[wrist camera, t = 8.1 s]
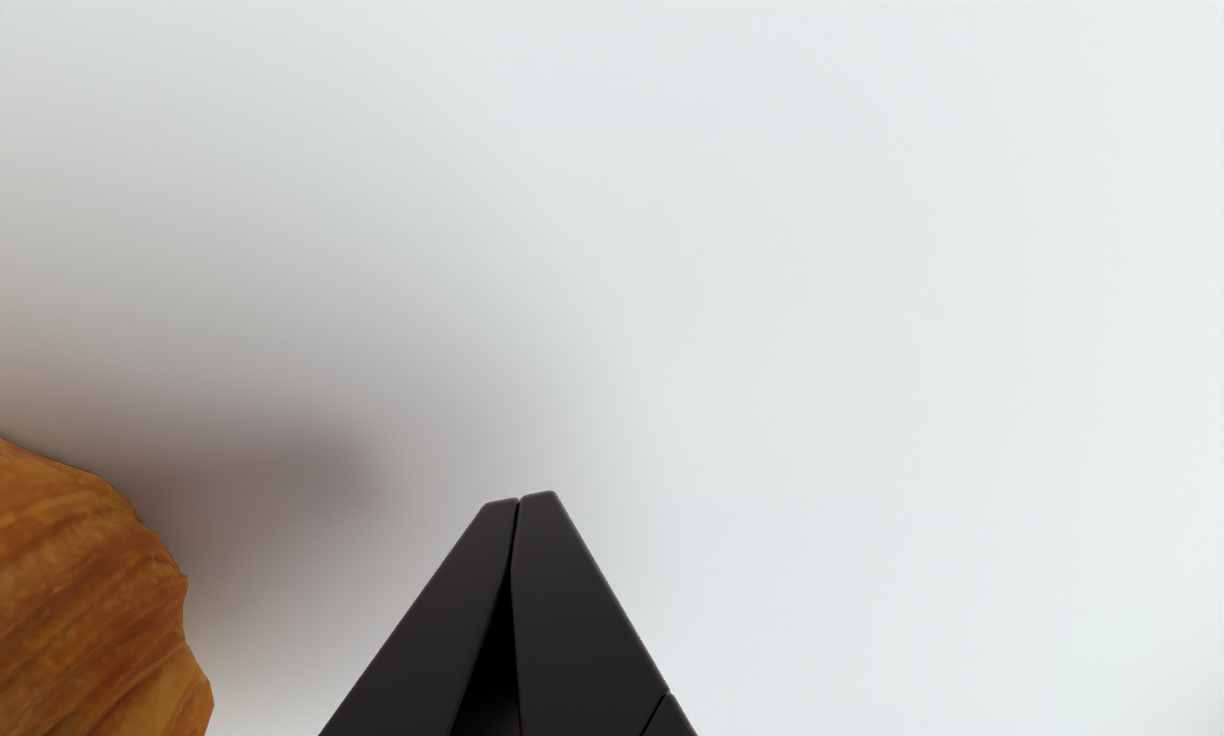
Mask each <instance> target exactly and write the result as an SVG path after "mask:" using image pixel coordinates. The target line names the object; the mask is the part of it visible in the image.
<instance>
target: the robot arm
mask: <svg viewBox="0 0 1224 736" xmlns="http://www.w3.org/2000/svg"><path fill="white" fill-rule="evenodd" d="M318 736H698V735H697V734H696V732H695V730H694V729H693V727H692V726H691V724H690V722H689V721H688V719H687V717H686V715H685V714H684V712H683V710H682V709H681V707H680V705H679V703H678V702H677V700H676V698H675V697H674V695H672V694H671V693H670V689H669V687H668V685H667V683H666V682H665V680H664V678H663V677H662V675H661V673H660V671H659V670H658V668H657V666H656V665H655V663H654V661H653V659H652V658H651V656H650V654H649V653H648V651H647V649H646V647H645V646H644V644H643V642H642V641H641V639H640V637H639V635H638V634H637V632H636V630H635V629H634V627H633V625H632V623H631V622H630V620H629V618H628V616H627V615H626V613H625V611H624V610H623V608H622V606H621V604H620V603H619V601H618V599H617V598H616V596H615V594H614V592H613V591H612V589H611V587H610V586H609V584H608V582H607V580H606V579H605V577H604V575H603V574H602V572H601V570H600V568H599V567H598V565H597V563H596V562H595V560H594V558H593V556H592V555H591V553H590V551H589V549H588V548H587V546H586V544H585V543H584V541H583V539H582V537H581V536H580V534H579V532H578V531H577V529H576V527H575V525H574V524H573V522H572V520H571V519H570V517H569V515H568V513H567V512H566V510H565V508H564V507H563V505H562V503H561V501H560V500H559V498H558V496H557V495H556V493H555V492H554V491H551V490H548V491H543V492H538V493H533V494H528V495H525V496H523V497H522V498H521V499H520V500H519V499H517V498H508V499H503V500H498V501H493V502H489V503H486V504H485V505H484V506H483V507H482V508H481V509H480V511H479V512H478V514H477V515H476V516H475V518H474V519H473V521H472V522H471V523H470V525H469V526H468V527H467V529H466V530H465V532H464V533H463V534H462V536H461V537H460V539H459V540H458V541H457V543H456V544H455V546H454V547H453V548H452V550H451V551H450V553H449V554H448V555H447V557H446V558H445V560H444V561H443V562H442V564H441V565H440V567H439V568H438V569H437V571H436V572H435V573H434V575H433V576H432V578H431V579H430V580H429V582H428V583H427V585H426V586H425V587H424V589H423V590H422V592H421V593H420V594H419V596H418V597H417V599H416V600H415V601H414V603H413V604H412V606H411V607H410V608H409V610H408V611H407V613H406V614H405V615H404V617H403V618H402V620H401V621H400V622H399V624H398V625H397V626H396V628H395V629H394V631H393V632H392V633H391V635H390V636H389V638H388V639H387V640H386V642H385V643H384V645H383V646H382V647H381V649H380V650H379V652H378V653H377V654H376V656H375V657H374V659H373V660H372V661H371V663H370V664H369V666H368V667H367V668H366V670H365V671H364V673H363V674H362V675H361V677H360V678H359V679H358V681H357V682H356V684H355V685H354V686H353V688H352V689H351V691H350V692H349V693H348V695H347V696H346V698H345V699H344V700H343V702H342V703H341V705H340V706H339V707H338V709H337V710H336V712H335V713H334V714H333V716H332V717H331V719H330V720H329V721H328V723H327V724H326V725H325V727H324V728H323V730H322V731H321V732H320V734H319V735H318Z"/></svg>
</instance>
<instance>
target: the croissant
mask: <svg viewBox="0 0 1224 736" xmlns="http://www.w3.org/2000/svg"><path fill="white" fill-rule="evenodd" d="M187 585H188V576H187V575H183V574H180V570H179V568H178V567H177V565H176V563H175V562H174V560H173V558H172V557H171V555H170V554H169V552H168V550H167V549H166V547H165V545H164V544H163V542H162V541H161V539H160V537H159V536H158V534H157V533H156V532H154V531H153V530H151V529H149V528H148V527H146V526H144V525H142V524H141V523H139V521H138V518H137V516H136V513H135V511H134V508H133V506H132V504H131V503H130V502H129V501H127V500H126V499H125V498H124V497H123V496H122V495H121V494H119V493H118V492H117V491H116V490H115V489H114V488H112V487H111V486H110V485H109V484H108V483H107V482H105V481H104V480H103V479H102V478H101V477H100V476H98V475H95V474H92V473H89V472H86V471H83V470H80V469H77V468H74V467H71V466H68V465H65V464H62V463H59V462H56V461H53V460H50V459H47V458H45V457H42V456H40V455H38V454H35V453H33V452H31V451H28V450H26V449H24V448H22V447H19V446H17V445H15V444H13V443H10V442H8V441H6V440H3V439H1V438H0V736H204V735H205V732H206V729H207V726H208V723H209V719H210V716H211V713H212V710H213V707H214V700H213V696H212V691H211V687H210V683H209V681H208V679H207V678H206V676H205V675H204V673H203V672H202V670H201V668H200V667H199V665H198V664H197V662H196V660H195V658H194V656H193V654H192V652H191V649H190V648H189V646H188V645H187V644H186V642H185V635H184V632H183V611H182V606H183V601H184V598H185V594H186V591H187Z"/></svg>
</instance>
